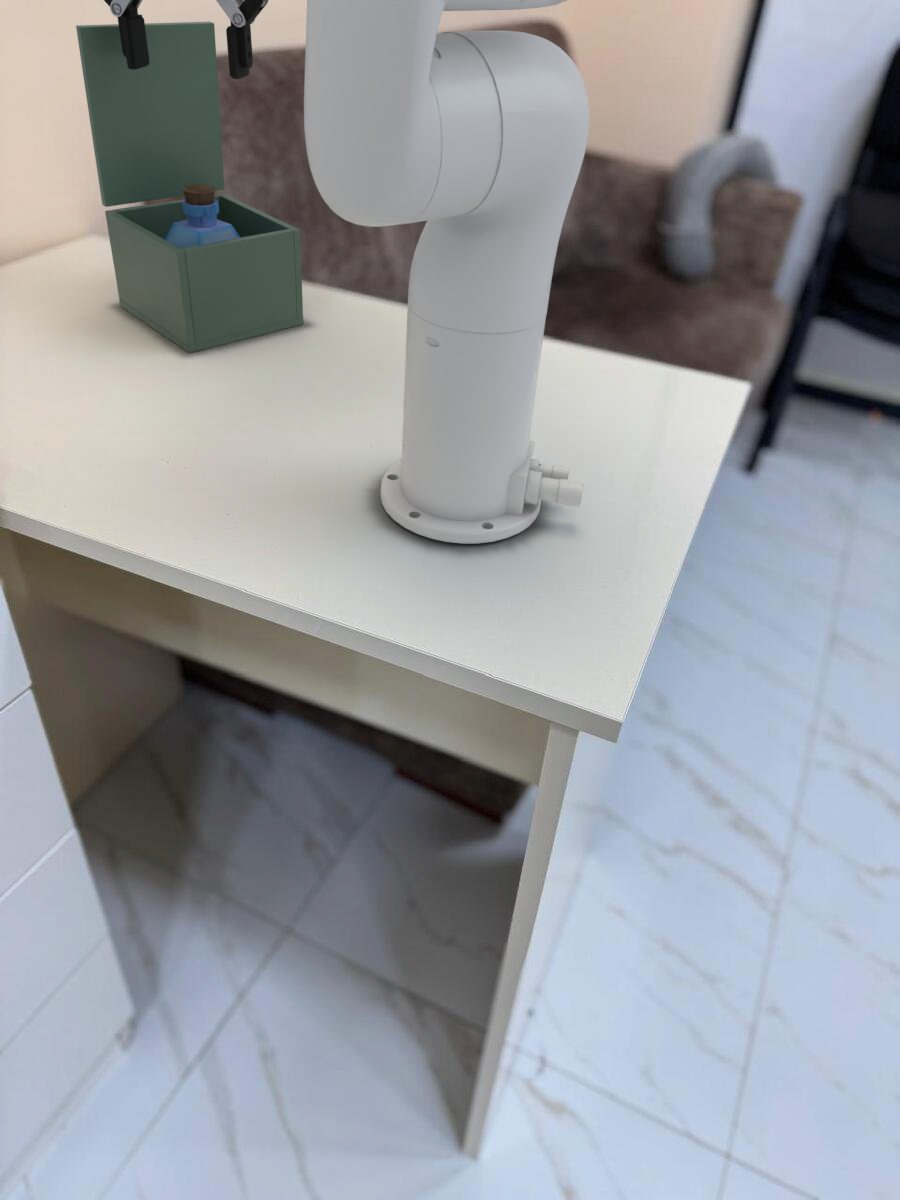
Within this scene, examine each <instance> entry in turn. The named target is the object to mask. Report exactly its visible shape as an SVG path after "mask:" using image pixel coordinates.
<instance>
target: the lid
mask: <svg viewBox="0 0 900 1200" xmlns="http://www.w3.org/2000/svg"><path fill="white" fill-rule="evenodd" d="M75 28H76V35H77V43H78V49H79V54H80V55H79V56H80V63H81V69H82V76H83V82H84V83H83V84H84V91H85V96H86V102H87V103H86V104H87V111H88V117H89V123H90V130H91V131H90V132H91V138H92V144H93V151H94V157H95V158H94V159H95V165H96V172H97V178H98V179H97V180H98V185H99V192H100V199H101V205H102V206H103V207H104V208H108V207H115V206H122V205H128V204H136V203H142V202H150V201H156V200H162V199H163V200H164V199H169V198H170V199H171V198H177V197H183V196H184V197H185V195H184V192H183V189H182V188H183V187H184V186H187V185H192V184H204V185H210V186H213V187H215V192H219V191H224V190H225V174H224V173H225V172H224V158H223V143H222V142H223V140H222V127H221V126H222V125H221V124H222V123H221V109H220V108H221V107H220V94H219V93H220V92H219V80H218V61H217V60H218V59H217V47H216V46H217V43H216V30H215V29H216V28H215V23H214V22H213V21H187V22H181V21H180V22H150V23H149V22H147V23H146V22H145V30H146V38H147V45H148V53H149V61H150V63H149V65H147V66H146V67H142V68H139V69H136V70H133V69H129V68H128V65H127V59H126V57H125V56H124V55H123V51H122V45H121V38H120V31H119V24H118V23H115V24H113V23H112V24H81V25H80V24H79V25H78V24H77V25H76V26H75Z"/></svg>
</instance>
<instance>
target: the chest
mask: <svg viewBox="0 0 900 1200" xmlns="http://www.w3.org/2000/svg"><path fill="white" fill-rule="evenodd" d="M184 199H185V198H183V199H182V198H181V199H176V200H175V199H174V200H170V201H169V200H168V201H163V202H155V203H149V204H143V205H135V206H128V207H121V208H115V209H109V210H105V211H104V213H105V218H106V219H105V220H106V226H107V232H108V237H109V245H110V250H111V256H112V262H113V263H112V264H113V269H114V273H115V275H114V276H115V281H116V288H117V293H118V301H119V306H120V307H121V308H123V309H124V310H125V311H127V312H129V314H131V315H133V316H134V317H135V318H137V319H139V320H140V321H142V322H143V323H144V324H146V325H147V326H149V327H150V328H152V329H153V330H155V332H157V333H159V334H161V335H162V336H163V337H164V338H166V339H168V340H169V341H171V342H172V343H174V344H175V345H177V346H178V347H179V348H181V349H183V350H184V351H185V352H187V353H188V354H191V353H196V352H199V351H203V350H207V349H210V348H211V349H212V348H215V347H218V346H224V345H226V344H230V343H231V344H232V343H235V342H238V341H239V342H240V341H242V340H247V339H250V338H254V337H258V336H262V335H265V334H266V335H267V334H270V333H274V332H279V331H282V330H287V329H290V328H293V327H298V326H302V325H304V306H303V305H304V304H303V275H302V273H303V272H302V251H301V250H302V247H301V246H302V245H301V229H299V228H297V227H294V226H293V225H291V224H289V223H287V222H285V221H282V220H280V219H278V218H276V217H274V216H272V215H270V214H268V213H265V212H263V211H261V210H259V209H257V208H255V207H253V206H252V205H249V204H246V203H244V202H243V201H240V200H238V199H237V198H234V197H232V196H230V195H228V194H226V193H217V194H216V193H215V197H214V199H216V200H217V201H218V206H219V213H218V214H216V216H217V220H220V221H223V222H226V223H229V224H231V225H232V226H233V228H234V229H235V231H236V232H237V233H238V235H239V236H240V238H236V239H231V240H225V241H220V242H214V243H209V244H203V245H198V246H192V247H187V248H181V249H180V248H178V247H176V246H175V245H173V244H171V243H169V242H168V241H166V240H165V239H166V237H167V235H168V233H169V231H170V229H171V227H172V225H173V223H175V222H179V221H183V220H187V214H185V213H184V212H183V203H182V201H183V200H184Z"/></svg>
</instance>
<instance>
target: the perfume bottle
mask: <svg viewBox="0 0 900 1200" xmlns="http://www.w3.org/2000/svg"><path fill="white" fill-rule="evenodd" d="M182 189H183V192H184V198H183V199H184V200H183V201H182V203H183V212H184V213H185V214H187V220H183V221H179V222H175V223H173V225H172V227H171V229H170V231H169V233H168V235H167V237H166V239H165V240H166V241H168V242H169V243H171V244H173V245H175V246H176V247H178V248H180V249H181V248H187V247H192V246H198V245H203V244H209V243H214V242H220V241H225V240H231V239H236V238H240V236H239V235H238V233H237V232H236V231H235V229H234V228H233V226H232V225H231V224H229V223H226V222H223V221H220V220H217V216H216V214H218V213H219V206H218V201H217V200H216V199H214V197H215V195H216V191H215V187H213V186H210V185H204V184H192V185H187V186H184V187H183V188H182Z"/></svg>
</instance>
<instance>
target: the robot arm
mask: <svg viewBox="0 0 900 1200" xmlns="http://www.w3.org/2000/svg"><path fill="white" fill-rule="evenodd" d="M103 1H104V2H105V3H106V4H107V5H108V7H109V9H110V13H111V14H112V16H114V17H117V24H119V31H120V38H121V45H122V51H123V55H124V56H125V57H126V59H127V65H128V68H129V69H133V70H136V69H139V68H142V67H146V66H147V65H149V63H150V61H149V53H148V45H147V38H146V30H145V24H146V22H145V18H144V17H143V14H139V11H138V10H139V7H140V6H141V4H142V2H143V0H103ZM215 1H216V2H217V4H218V6H220V8H221V10H222V11H223V12H224V13H225V15H226V16H227V18H228V19H229V21H230V25H228V26H227V27H226V29H225V33H226V34H225V35H226V46H227V58H228V69H229V77H230V78H231V79H233V80H234V79H235V80H241V79H243V78H245V77H248V76H249V75H250V69H251V68H252V67H253V63H254V59H253V58H254V57H253V44H252V43H253V41H252V29H251V28H252V27H251V25H253V24H254V23H255V21H256V18H257V17H258V16H259V14H261V12H262V11H263V9H264V8H265V7H266V6H267V5H268V2H269V0H215ZM566 1H568V0H306V23H305V48H304V49H305V52H304V53H305V55H304V84H303V86H304V87H303V90H304V91H303V129H304V139H305V141H304V142H305V148H306V149H305V150H306V155H307V160H308V166H309V169H310V173H311V177H312V179H313V182H314V184H315V186H316V189H317V190H318V193H319V195H320V197H321V198H322V200H323V201H324V203H325V204H326V206H327V207H329V209H330V210H331V212H333V213H335V215H336V216H339V217H340V218H341V219H343V220H344V221H345V222H346V221H347V222H349V223H351V224H354V225H357V226H363V227H372V228H373V227H374V228H375V227H376V228H379V227H392V226H398V225H408V224H415V223H420V222H425V225H424V227H423V229H422V232H421V233H420V236H419V238H418V240H417V241H418V242H417V243H416V247H415V249H414V253H413V257H412V261H411V265H410V270H409V277H408V278H409V279H408V292H407V293H408V294H407V309H406V311H407V312H406V335H405V337H406V338H405V359H404V360H405V361H404V368H405V369H404V386H403V387H404V389H403V390H404V391H403V414H402V415H403V416H402V417H403V418H402V439H401V441H402V442H401V459H399V460H397V461H396V462H395V463H394V464H392V465H391V466H389V467H388V468H387V470H386V472H384V474H383V475H382V479H381V482H380V501H381V504H382V506H383V508H384V511H385V512H386V513H387V515H388V516H390V517H391V519H392V520H393V521H395V522H396V523H398V524H399V525H400V526H402V527H403V528H405V529H406V530H408V531H411V532H412V533H415V534H416V535H419V536H422V537H425V538H428V539H431V540H435V541H440V542H445V543H452V544H461V545H462V544H464V545H467V544H468V545H469V544H473V545H475V544H485V543H494V542H497V541H502V540H505V539H508V538H510V537H513V536H515V535H518V534H520V533H521V532H523V531H525V530H526V529H528V528H529V527H530V526H531V525H532V524H533V523H534V522H535V521H536V519H537V517H538V515H539V513H540V511H541V504H542V502H549V503H554V504H557V505H561V506H562V505H563V506H570V507H575V508H580V506H581V502H582V497H583V496H582V495H583V491H584V490H583V489H584V481H581V480H573V479H569V474H570V466H567V465H558V464H546V463H540V462H541V460H540V459H536V458H533V456H534V448H535V442H534V441H532V440H530V439H531V438H530V437H531V432H532V431H531V430H532V423H533V416H534V407H535V401H536V394H537V393H536V392H537V386H538V379H539V372H540V363H541V356H542V350H543V349H542V348H543V343H544V342H543V341H544V335H545V327H546V319H547V314H548V307H549V301H550V296H551V295H550V294H551V287H552V281H553V280H552V279H553V274H554V268H555V262H556V257H557V252H558V247H559V241H560V237H561V234H562V231H563V226H564V221H565V218H566V215H567V211H568V208H569V205H570V202H571V199H572V196H573V194H574V190H575V188H576V184H577V181H578V178H579V176H580V172H581V168H582V165H583V162H584V159H585V154H586V149H587V146H588V139H589V132H590V104H589V97H588V91H587V87H586V85H585V81H584V79H583V76H582V74H581V72H580V70H579V68H578V66H577V65H576V64H575V62H574V61H573V60H572V58H571V57H570V56H569V55H568V53H566V52H565V51H564V50H563V49H562V48H561V47H560V46H558V45H557V44H555V43H554V42H552V41H550V40H548V39H546V38H544V37H541V36H538V35H536V34H532V33H529V32H523V31H517V30H516V31H514V30H506V29H505V30H502V29H501V30H500V29H499V30H497V29H496V30H491V29H490V30H458V31H457V30H456V31H455V30H454V31H443V32H440V33H438V31H439V26H440V21H441V17H442V14H443V12H467V11H468V12H469V11H471V12H472V11H473V12H474V11H514V10H515V11H516V10H529V9H530V10H531V9H540V8H546V7H547V8H548V7H552V6H556V5H560V4H563V3H564V2H566Z"/></svg>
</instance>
